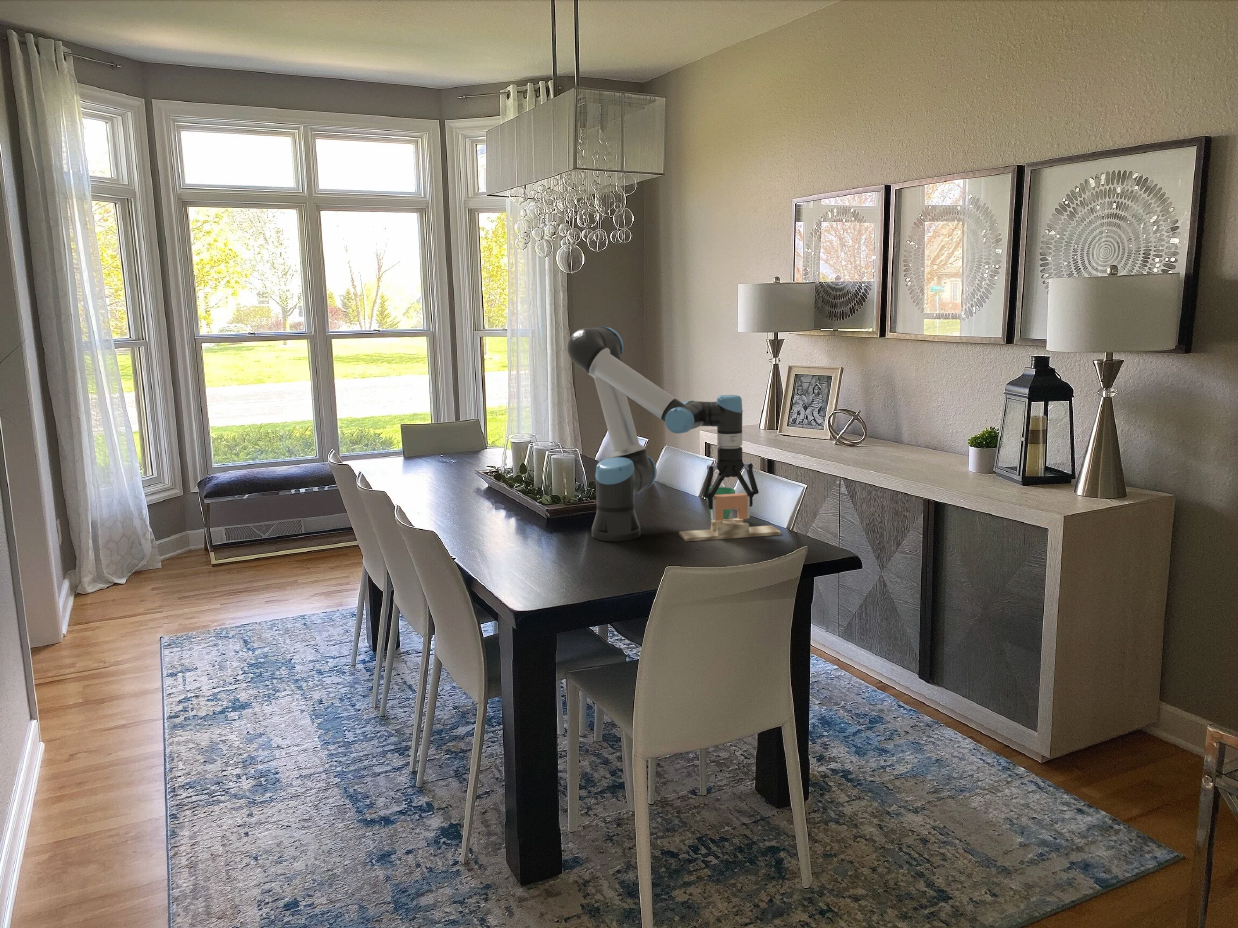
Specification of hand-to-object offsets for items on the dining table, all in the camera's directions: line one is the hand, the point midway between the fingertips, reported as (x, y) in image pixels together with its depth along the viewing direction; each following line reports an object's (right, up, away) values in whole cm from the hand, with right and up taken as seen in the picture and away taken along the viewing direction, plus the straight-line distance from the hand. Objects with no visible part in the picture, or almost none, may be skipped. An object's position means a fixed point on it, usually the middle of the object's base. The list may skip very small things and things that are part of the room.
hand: (730, 518), depth 283 cm
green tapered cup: (-2, -1, +22) cm, 22 cm away
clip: (0, 0, 0) cm, 0 cm away
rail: (0, -5, +1) cm, 5 cm away
